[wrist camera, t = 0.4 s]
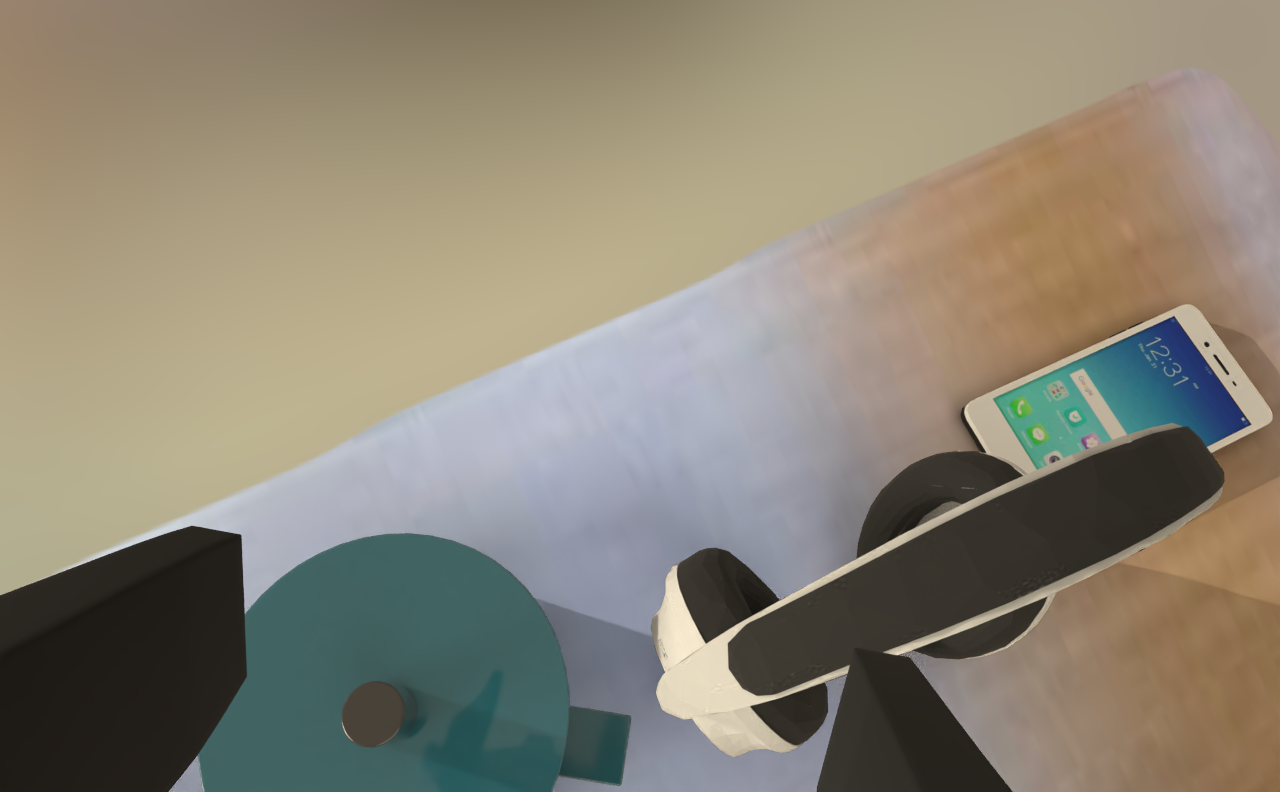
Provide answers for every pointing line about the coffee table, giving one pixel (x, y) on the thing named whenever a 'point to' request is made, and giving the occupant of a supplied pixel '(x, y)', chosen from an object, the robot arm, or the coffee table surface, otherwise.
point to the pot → (596, 746)
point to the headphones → (918, 579)
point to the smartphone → (1121, 394)
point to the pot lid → (394, 678)
